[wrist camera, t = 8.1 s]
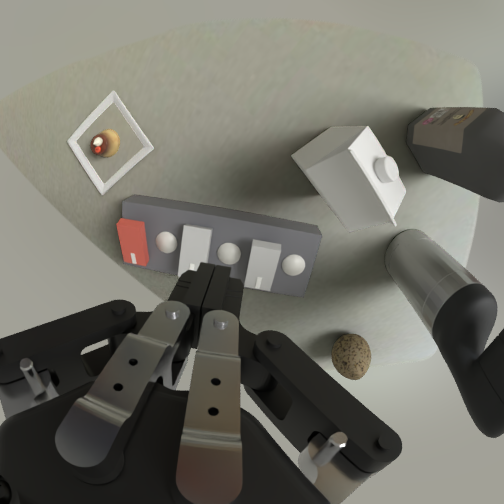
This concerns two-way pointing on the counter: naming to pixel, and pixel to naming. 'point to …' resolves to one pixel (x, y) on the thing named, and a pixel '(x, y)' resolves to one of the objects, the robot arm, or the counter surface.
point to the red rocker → (133, 241)
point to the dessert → (108, 143)
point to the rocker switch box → (226, 239)
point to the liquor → (462, 147)
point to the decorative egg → (351, 356)
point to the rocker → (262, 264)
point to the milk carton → (353, 176)
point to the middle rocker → (194, 247)
